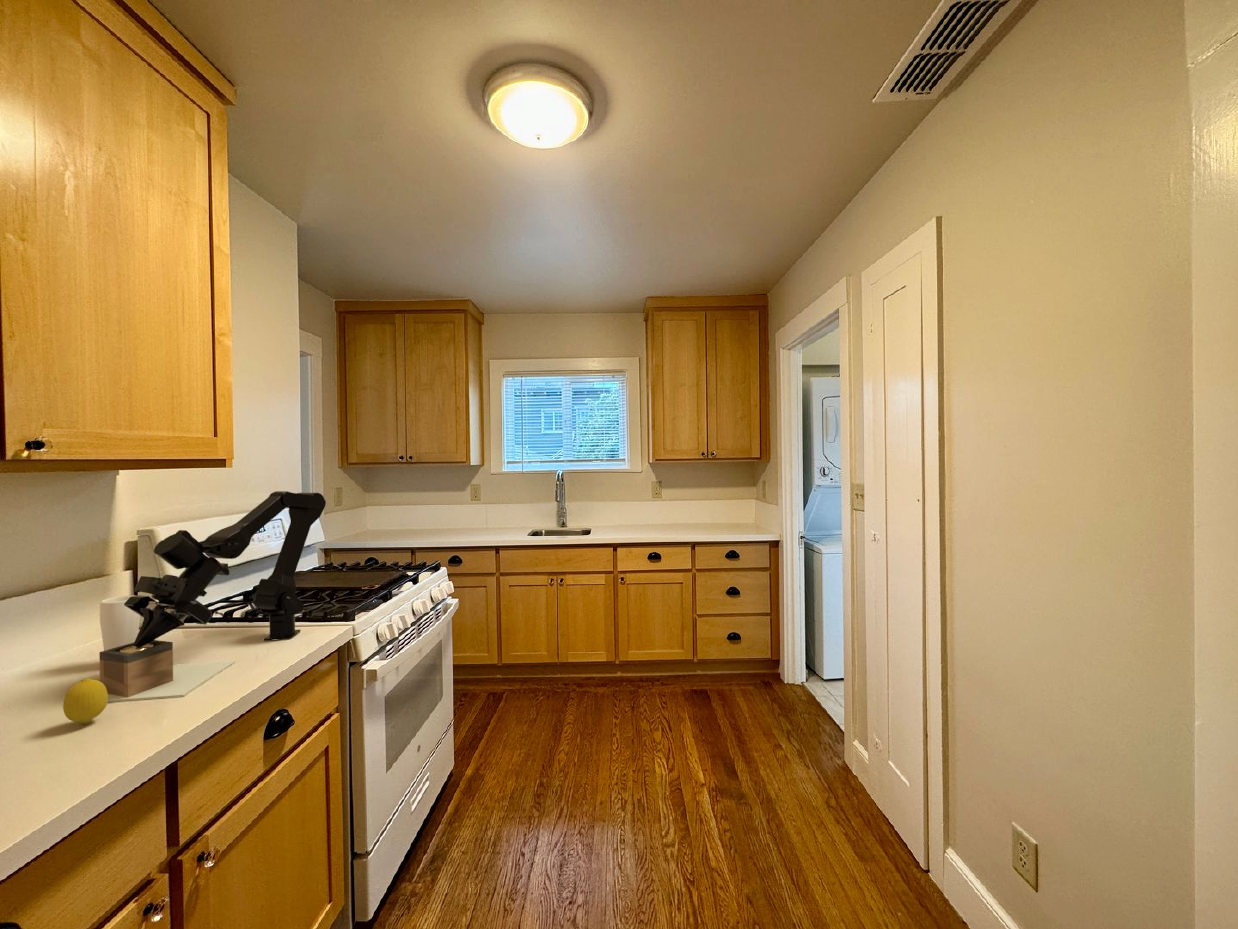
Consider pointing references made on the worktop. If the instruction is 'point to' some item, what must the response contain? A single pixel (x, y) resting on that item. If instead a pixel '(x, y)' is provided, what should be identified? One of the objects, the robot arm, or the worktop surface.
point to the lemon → (85, 701)
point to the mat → (180, 681)
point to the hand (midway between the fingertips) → (136, 646)
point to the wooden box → (136, 668)
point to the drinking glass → (118, 622)
